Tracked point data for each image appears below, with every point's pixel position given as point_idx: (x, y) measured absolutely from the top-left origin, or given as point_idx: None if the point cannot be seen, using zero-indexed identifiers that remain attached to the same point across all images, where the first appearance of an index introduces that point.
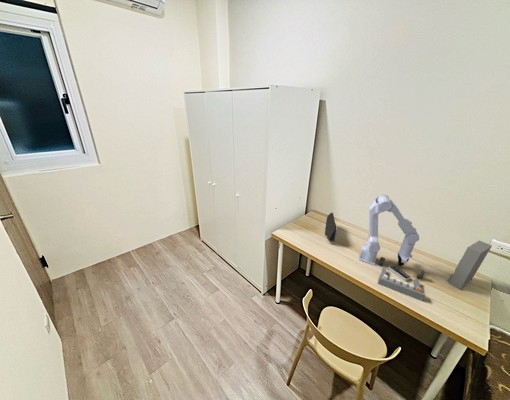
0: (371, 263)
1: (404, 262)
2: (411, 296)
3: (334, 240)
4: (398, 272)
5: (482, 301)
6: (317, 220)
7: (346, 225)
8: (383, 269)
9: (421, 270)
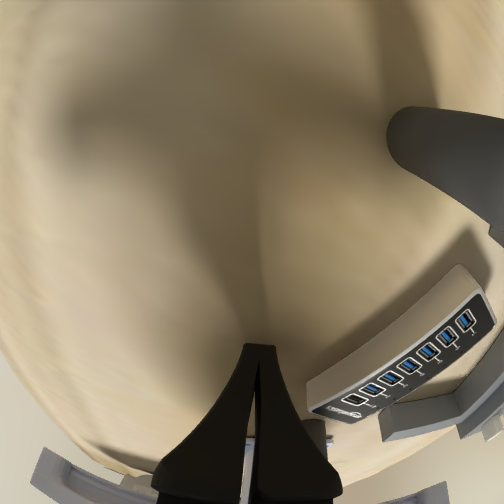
0: (327, 449)
1: (438, 493)
2: None
3: (240, 501)
4: (422, 378)
5: None
6: (129, 472)
7: (68, 432)
8: (405, 436)
9: (487, 185)
